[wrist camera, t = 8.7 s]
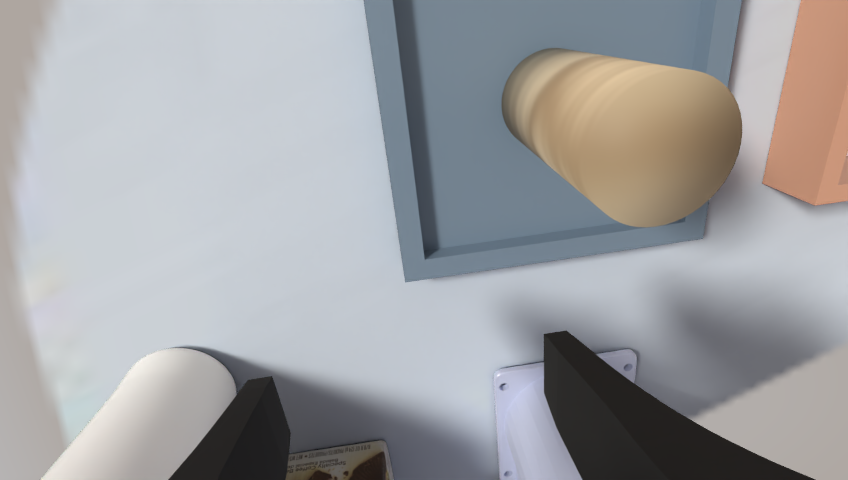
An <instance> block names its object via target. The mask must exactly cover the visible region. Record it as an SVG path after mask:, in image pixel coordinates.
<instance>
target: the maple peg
mask: <svg viewBox="0 0 848 480" xmlns="http://www.w3.org/2000/svg"><path fill="white" fill-rule="evenodd" d="M501 107H502V114H503V119H504V121H505V124H506V126H507V128H508V130H509V131H510V132H511V134H512V135H513V136H514V137H515V138H516V139H517V140H519V141H520V142H521V143H522V144H523V145H525V146H526V147H527V148H528V149H529V150H530V151H532V152H533V153H534V154H535V155H536V156H538V157H539V158H540V159H541V160H542V161H544V162H545V163H546V164H547V165H548V166H549V167H551V168H552V169H553V170H554V171H555V172H557V173H558V174H559V175H560V176H561V177H563V178H564V179H565V180H566V181H567V182H568V183H570V184H571V185H572V186H573V187H574V188H576V189H577V190H578V191H579V192H580V193H582V194H583V195H584V196H585V197H586V198H587V199H589V200H590V201H591V202H592V203H593V204H595V205H596V206H597V207H598V208H599V209H601V210H602V211H603V212H604V213H605V214H607V215H608V216H609V217H611V218H612V219H614V220H616V221H618V222H620V223H623V224H626V225H629V226H634V227H656V226H661V225H666V224H669V223H672V222H675V221H677V220H679V219H682V218H684V217H686V216H687V215H689V214H691V213H693V212H694V211H695V210H697V209H698V208H700V207H701V206H702V205H704V204H705V203H706V202H707V201H708V200H709V199H710V198H711V197H712V196H713V195H714V194H715V193H716V192H717V191H718V190H719V188H720V187H721V186H722V184H723V183H724V182H725V180H726V179H727V177H728V175H729V174H730V172H731V170H732V168H733V166H734V164H735V161H736V159H737V156H738V153H739V149H740V145H741V138H742V120H741V113H740V110H739V107H738V104H737V102H736V100H735V98H734V96H733V95H732V93H731V92H730V90H729V89H728V88H727V87H726V86H725V85H724V84H723V83H722V82H721V81H719V80H718V79H716V78H714V77H713V76H711V75H708V74H706V73H703V72H699V71H695V70H689V69H683V68H677V67H671V66H665V65H659V64H653V63H647V62H641V61H635V60H629V59H623V58H617V57H611V56H605V55H599V54H593V53H587V52H581V51H575V50H569V49H563V48H548V49H543V50H540V51H537V52H535V53H533V54H531V55H529V56H528V57H526V58H525V59H524V60H522V61H521V62H520V63H519V64H518V65H517V66H516V67H515V68H514V70H513V71H512V73H511V74H510V76H509V78H508V79H507V82H506V84H505V87H504V90H503V94H502V105H501Z"/></svg>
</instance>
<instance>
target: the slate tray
mask: <svg viewBox="0 0 848 480" xmlns="http://www.w3.org/2000/svg"><path fill="white" fill-rule="evenodd" d="M741 2H742V0H364V6H365V13H366V19H367V26H368V33H369V40H370V46H371V53H372V60H373V67H374V74H375V80H376V87H377V94H378V101H379V107H380V114H381V121H382V128H383V134H384V141H385V148H386V155H387V161H388V168H389V175H390V182H391V189H392V195H393V202H394V209H395V216H396V222H397V229H398V236H399V243H400V249H401V256H402V263H403V270H404V277H405V282H411V281H418V280H425V279H432V278H438V277H445V276H452V275H459V274H466V273H473V272H479V271H486V270H493V269H500V268H507V267H514V266H520V265H527V264H534V263H541V262H548V261H555V260H561V259H568V258H575V257H582V256H589V255H596V254H602V253H609V252H616V251H623V250H630V249H636V248H643V247H650V246H657V245H664V244H671V243H677V242H684V241H691V240H698V239H703V235H704V229H705V223H706V217H707V210H708V204H709V200H708V201H707V202H706V203H705V204H704V205H702V206H701V207H700V208H698V209H697V210H695V211H694V212H693V213H691V214H689V215H687V216H686V217H684V218H682V219H679V220H677V221H675V222H672V223H669V224H666V225H661V226H656V227H634V226H629V225H626V224H623V223H620V222H618V221H616V220H614V219H612V218H611V217H609V216H608V215H607V214H605V213H604V212H603V211H602V210H601V209H599V208H598V207H597V206H596V205H595V204H593V203H592V202H591V201H590V200H589V199H587V198H586V197H585V196H584V195H583V194H582V193H580V192H579V191H578V190H577V189H576V188H574V187H573V186H572V185H571V184H570V183H568V182H567V181H566V180H565V179H564V178H563V177H561V176H560V175H559V174H558V173H557V172H555V171H554V170H553V169H552V168H551V167H549V166H548V165H547V164H546V163H545V162H544V161H542V160H541V159H540V158H539V157H538V156H536V155H535V154H534V153H533V152H532V151H530V150H529V149H528V148H527V147H526V146H525V145H523V144H522V143H521V142H520V141H519V140H517V139H516V138H515V137H514V136H513V135H512V134H511V132H510V131H509V130H508V128H507V126H506V124H505V121H504V119H503V114H502V107H501V105H502V94H503V90H504V87H505V84H506V82H507V79H508V78H509V76H510V74H511V73H512V71H513V70H514V68H515V67H516V66H517V65H518V64H519V63H520V62H521V61H522V60H524V59H525V58H526V57H528V56H529V55H531V54H533V53H535V52H537V51H540V50H543V49H548V48H563V49H569V50H575V51H581V52H587V53H593V54H599V55H605V56H611V57H617V58H623V59H629V60H635V61H641V62H647V63H653V64H659V65H665V66H671V67H677V68H683V69H689V70H695V71H699V72H703V73H706V74H708V75H711V76H713V77H714V78H716V79H718V80H719V81H721V82H722V83H723V84H724V85H725V86H726V87H727V88H728V82H729V76H730V70H731V63H732V57H733V51H734V45H735V39H736V33H737V27H738V21H739V15H740V8H741Z"/></svg>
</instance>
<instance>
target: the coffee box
mask: <svg viewBox="0 0 848 480" xmlns="http://www.w3.org/2000/svg"><path fill="white" fill-rule="evenodd" d="M286 480H394V477H393V472H392V466H391V461H390V457H389V452H388V448H387V444H386V442H385V441H382V440H379V441H373V442H367V443H361V444H354V445H348V446H341V447H334V448H327V449H321V450H314V451H308V452H301V453H295V454H289V458H288V467H287V475H286Z"/></svg>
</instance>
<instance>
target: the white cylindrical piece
mask: <svg viewBox="0 0 848 480" xmlns="http://www.w3.org/2000/svg"><path fill="white" fill-rule="evenodd" d="M236 395H237V392H236V385H235V382H234V379H233V377H232V375H231V374H230V372H229V371H228V370H227V368H226V367H225V366H224V365H223V364H222V363H220V362H219V361H218V360H216V359H215V358H213V357H212V356H210V355H208V354H205V353H203V352H200V351H197V350H193V349H187V348H168V349H163V350H159V351H155V352H153V353H150V354H148V355H146V356H144V357H143V358H141V359H140V360H139V361H137V362H136V363H135V364H134V365H133V366H132V367H131V368H130V370H129V371H128V372H127V374H126V375H125V377H124V378H123V379H122V381H121V382H120V384H119V385H118V387H117V388H116V390H115V391H114V392H113V394H112V395H111V396H110V397H109V398H108V400H107V401H106V402H105V403H104V404H103V406H102V407H101V408H100V409H99V410H98V412H97V413H96V414H95V415H94V416H93V418H92V419H91V420H90V421H89V422H88V424H87V425H86V426H85V427H84V428H83V429H82V431H81V432H80V433H79V434H78V435H77V437H76V438H75V439H74V440H73V441H72V443H71V444H70V445H69V446H68V447H67V448H66V450H65V451H64V452H63V453H62V454H61V456H60V457H59V458H58V459H57V460H56V461H55V463H54V464H53V465H52V466H51V468H50V469H49V470H48V471H47V472H46V473H45V474H44V476H43V477H42V478H41V479H40V480H168V479H169V478H170V477H171V476H172V475H173V473H174V472H175V471H176V470H177V469H178V468H179V467H180V465H181V464H182V463H183V462H184V461H185V460H186V458H187V457H188V456H189V455H190V454H191V453H192V451H193V450H194V449H195V448H196V447H197V445H198V444H199V443H200V442H201V440H202V439H203V438H204V436H205V435H206V434H207V433H208V431H209V430H210V429H211V428H212V426H213V425H214V424H215V423H216V421H217V420H218V419H219V417H220V416H221V415H222V414H223V412H224V411H225V410H226V408H227V407H228V406H229V404H230V403H231V402H232V400H233V399H234V398H235V396H236Z"/></svg>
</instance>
